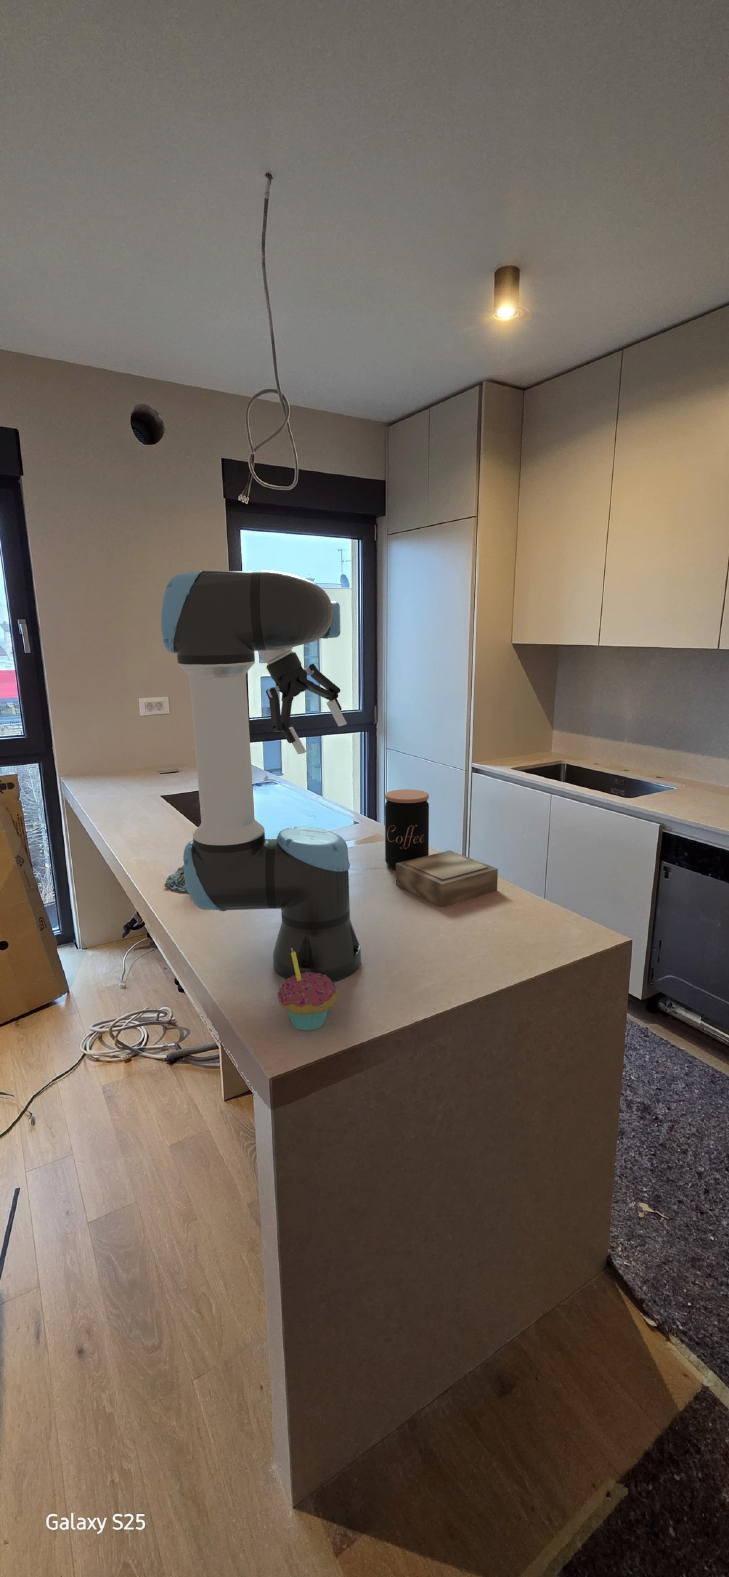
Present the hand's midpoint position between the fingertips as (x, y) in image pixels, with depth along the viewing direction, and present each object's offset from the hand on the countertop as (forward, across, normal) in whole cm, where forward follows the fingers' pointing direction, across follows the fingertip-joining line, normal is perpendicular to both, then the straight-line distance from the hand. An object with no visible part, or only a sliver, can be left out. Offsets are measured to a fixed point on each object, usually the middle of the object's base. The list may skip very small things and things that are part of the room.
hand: (322, 738), depth 156 cm
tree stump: (+16, +35, -18) cm, 43 cm away
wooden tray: (+39, +3, +22) cm, 45 cm away
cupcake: (+23, +54, +47) cm, 75 cm away
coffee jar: (+37, -1, +5) cm, 38 cm away
